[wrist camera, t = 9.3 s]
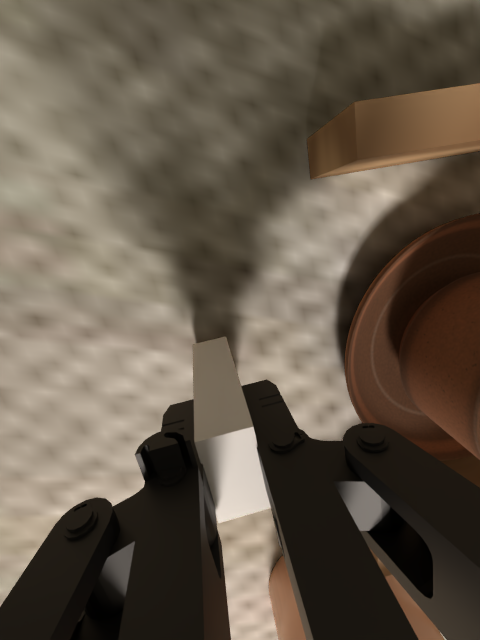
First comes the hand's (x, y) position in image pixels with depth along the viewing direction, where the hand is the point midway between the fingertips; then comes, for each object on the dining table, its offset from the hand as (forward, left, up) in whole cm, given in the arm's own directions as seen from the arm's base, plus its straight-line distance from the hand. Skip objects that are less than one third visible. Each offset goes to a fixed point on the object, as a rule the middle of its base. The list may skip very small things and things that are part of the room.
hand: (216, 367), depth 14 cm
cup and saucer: (+1, +12, -1) cm, 12 cm away
